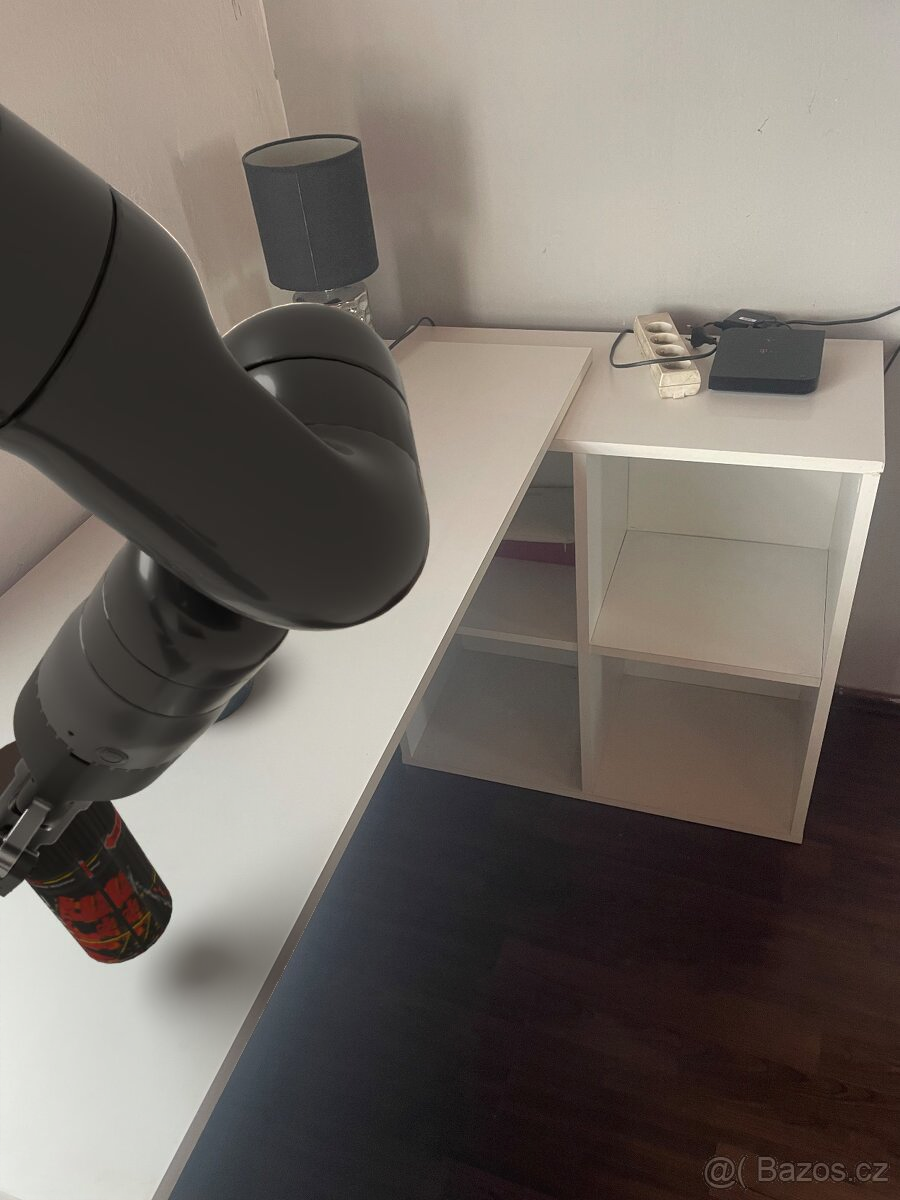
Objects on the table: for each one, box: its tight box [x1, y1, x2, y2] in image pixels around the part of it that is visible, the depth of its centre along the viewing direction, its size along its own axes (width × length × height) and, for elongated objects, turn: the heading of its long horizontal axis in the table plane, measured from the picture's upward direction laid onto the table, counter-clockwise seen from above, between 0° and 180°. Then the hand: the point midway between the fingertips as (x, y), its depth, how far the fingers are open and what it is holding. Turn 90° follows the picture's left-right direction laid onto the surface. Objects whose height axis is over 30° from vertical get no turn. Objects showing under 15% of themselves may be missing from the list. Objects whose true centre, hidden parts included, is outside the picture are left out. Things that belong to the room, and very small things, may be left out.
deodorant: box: [0, 740, 173, 965], centre depth 51 cm, size 6×6×15 cm
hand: (26, 813), depth 49 cm, fingers closed on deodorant, 6 cm apart
